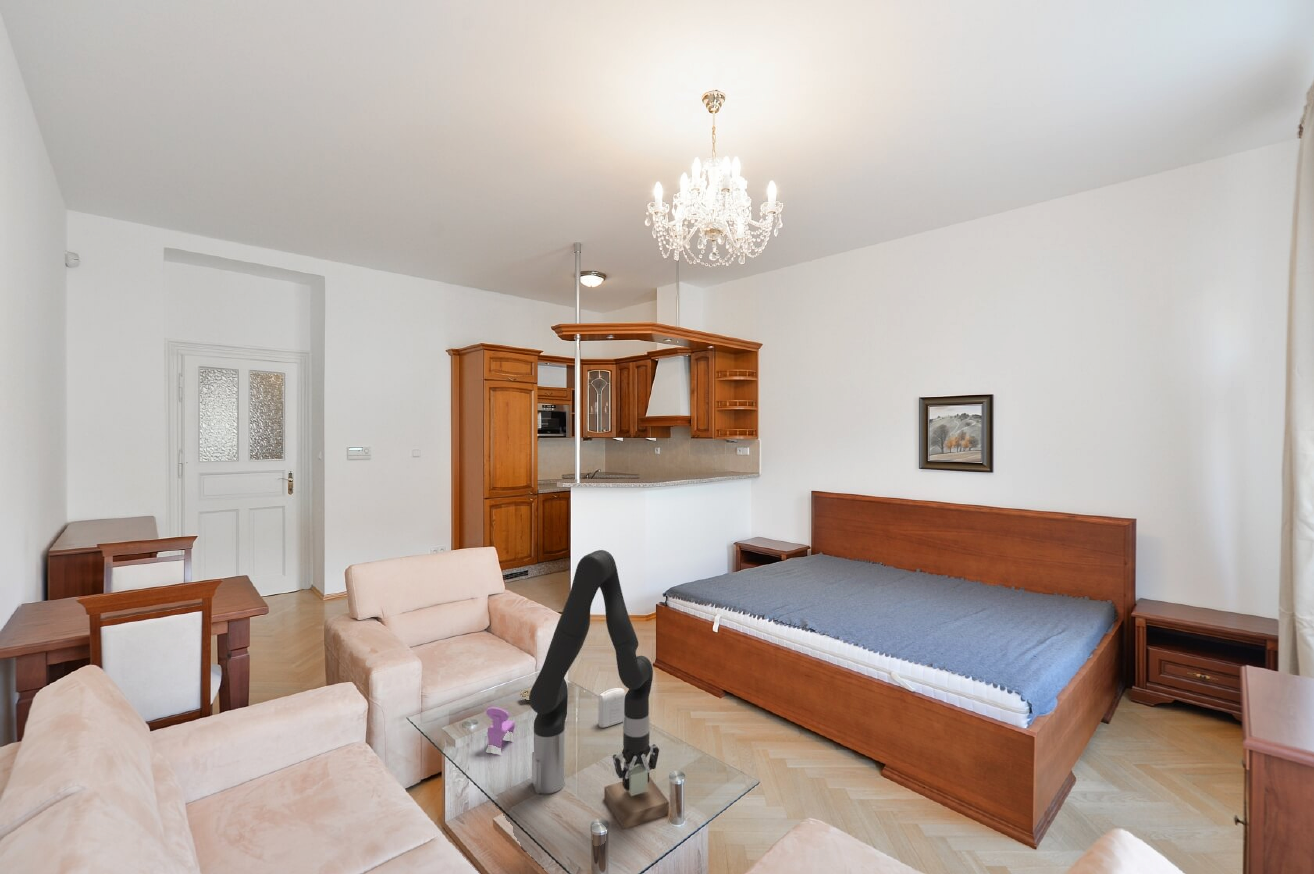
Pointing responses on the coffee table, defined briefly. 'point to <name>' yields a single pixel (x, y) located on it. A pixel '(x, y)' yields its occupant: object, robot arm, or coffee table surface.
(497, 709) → the toy chair
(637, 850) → the coffee table surface
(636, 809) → the walnut block
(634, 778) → the sage block
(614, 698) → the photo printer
